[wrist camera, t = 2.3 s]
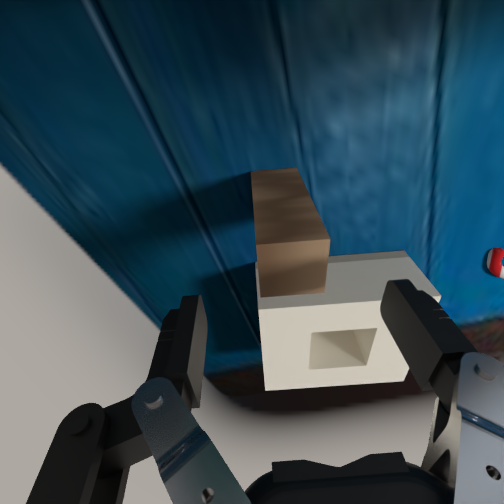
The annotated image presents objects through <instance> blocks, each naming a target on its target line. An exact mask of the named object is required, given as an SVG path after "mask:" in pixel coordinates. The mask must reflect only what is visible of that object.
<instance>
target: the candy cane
mask: <svg viewBox="0 0 504 504" xmlns="http://www.w3.org/2000/svg"><path fill="white" fill-rule="evenodd" d="M503 255H504V250H503V249H501V248H493V249H491V250H490V252H489V254H488V258H487V267H488V269H489V270H490V272H491V273H492V274H494V275H495V276H497V277H500V278H503V279H504V266H502V258H503Z"/></svg>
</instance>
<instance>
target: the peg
mask: <svg viewBox="0 0 504 504" xmlns="http://www.w3.org/2000/svg"><path fill="white" fill-rule="evenodd" d="M251 182H252V195H253V209H254V222H255V235H256V248H257V261H258V273H259V286H260V298H263V297H276V296H289V295H303V294H316V293H325V284H326V275H327V266H328V256H329V247H330V237H329V235H328V233H327V231H326V229H325V227H324V225H323V223H322V220H321V218H320V216H319V214H318V212H317V210H316V208H315V206H314V204H313V201H312V199H311V197H310V195H309V193H308V191H307V189H306V187H305V185H304V182H303V180H302V178H301V176H300V174H299V172H298V170H297V168H285V169H273V170H262V171H251Z"/></svg>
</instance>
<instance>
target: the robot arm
mask: <svg viewBox="0 0 504 504" xmlns="http://www.w3.org/2000/svg"><path fill="white" fill-rule="evenodd" d="M380 313H381V317H382V319H383V321H384V323H385V325H386V326H387V328H388V330H389V332H390V334H391V336H392V337H393V339H394V341H395V343H396V345H397V346H398V348H399V350H400V352H401V354H402V356H403V357H404V359H405V361H406V363H407V365H408V366H409V368H410V370H411V372H412V374H413V375H414V377H415V379H416V381H417V382H418V384H419V386H420V388H421V390H422V391H428V390H434V391H435V393H436V394H437V396H438V397H437V398H436V401H435V406H434V413H433V419H432V425H431V431H430V437H429V443H428V447H427V451H426V454H425V456H424V459H423V461H422V465H421V467H419V466H417V465H414V464H411V463H408V462H406V461H405V459H404V457H403V454H402V452H393V453H381V454H370V455H367V456H365V457H362V458H360V459H358V460H356V461H354V462H351V463H349V464H347V465H344V466H342V467H334V466H329V465H325V464H321V463H316V462H312V461H307V460H293V461H280V462H272V471H270V472H268V473H266V474H264V475H262V476H261V477H259V478H258V479H257V480H256V481H254V482H253V483H252V484H251V485H250V486H249V487H248V488H247V489H246V491H245V492H244V491H243V489H242V488H241V486H240V485H239V483H238V481H237V480H236V478H235V477H234V475H233V474H232V472H231V471H230V469H229V467H228V466H227V464H226V463H225V461H224V460H223V458H222V456H221V455H220V453H219V452H218V450H217V449H216V447H215V446H214V444H213V443H212V441H211V439H210V438H209V436H208V435H207V434H206V432H205V431H203V430H202V429H201V427H200V426H199V424H198V423H197V422H196V420H195V418H194V417H193V415H192V413H191V409H192V408H199V407H200V398H201V389H202V379H203V369H204V360H205V350H206V340H207V318H206V314H205V309H204V305H203V301H202V297H201V295H191V296H183V297H182V300H181V305H180V309H171V310H170V311H169V313H168V314H167V315H166V317H165V318H164V319H163V323H162V327H161V330H160V331H161V332H160V334H159V337H158V342H157V345H156V349H155V352H154V356H153V359H152V363H151V367H150V370H149V374H148V377H147V380H146V381H145V383H143V384H142V385H141V386H140V387H139V388H138V389H137V391H136V392H135V394H134V395H133V396H131V397H129V398H127V399H125V400H123V401H120V402H118V403H115V404H113V405H110V406H108V407H105V408H102V407H101V406H100V405H99V404H96V403H87V404H84V405H81V406H79V407H77V408H75V409H74V410H73V411H71V412H70V413H69V414H68V415H67V416H66V417H65V418H64V419H63V420H62V422H61V423H60V425H59V427H58V429H57V431H56V434H55V436H54V439H53V441H52V443H51V446H50V448H49V450H48V453H47V455H46V457H45V460H44V462H43V465H42V467H41V469H40V472H39V474H38V476H37V479H36V481H35V483H34V486H33V488H32V491H31V493H30V495H29V498H28V500H27V503H26V504H122V502H123V498H124V493H125V488H126V484H127V479H128V474H129V469H130V466H131V465H133V464H135V463H137V462H140V461H142V460H144V459H146V458H148V457H150V456H152V455H153V456H154V459H155V461H156V463H157V466H158V468H159V473H160V476H161V478H162V481H163V483H164V485H165V487H166V489H167V492H168V494H169V496H170V498H171V500H172V502H173V504H504V365H503V364H502V363H500V362H499V361H498V360H496V359H494V358H493V357H491V356H488V355H486V354H483V353H479V352H478V351H477V350H476V349H475V348H474V347H473V345H472V344H471V343H470V342H469V340H468V339H467V338H466V337H465V335H464V334H463V333H462V332H461V331H460V329H459V328H458V327H457V326H456V324H455V323H454V322H453V321H452V319H450V318H449V316H448V314H447V313H446V312H445V311H443V308H442V307H441V306H440V305H439V303H438V302H437V301H436V300H435V298H433V297H432V296H430V295H429V294H427V293H426V292H425V291H423V290H417V288H416V287H415V286H414V285H413V283H412V282H411V281H410V280H409V279H399V280H389V281H388V282H387V284H386V287H385V291H384V294H383V297H382V301H381V305H380Z"/></svg>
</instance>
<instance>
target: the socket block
mask: <svg viewBox="0 0 504 504" xmlns="http://www.w3.org/2000/svg"><path fill="white" fill-rule="evenodd" d="M255 267H256V282H257V297H258V312H259V323H260V334H261V346H262V357H263V368H264V380H265V391H267V390H282V389H296V388H310V387H324V386H339V385H354V384H368V383H382V382H397V381H404V378H405V376H406V374H407V372H408V370H409V366H408V365H407V363H406V361H405V359H404V357H403V356H402V354H401V352H400V350H399V348H398V346H397V345H396V343H395V341H394V339H393V337H392V336H391V334H390V332H389V330H388V328H387V326H386V325H385V323H384V321H383V319H382V317H381V313H380V305H381V301H382V297H383V294H384V291H385V287H386V284H387V282H388V281H389V280H399V279H409V280H410V281H411V282H412V283H413V285H414V286H415V287H416V288H417V290H423V291H425V292H426V293H427V294H429V295H430V296H432V297H433V298H435V300H436V301H437V302H438V303H439V300H440V298H441V295H440V294H439V292H438V291H437V290H436V289H435V288H434V286H433V285H432V284H431V283H430V281H429V280H428V279H427V278H426V277H425V275H424V274H423V273H422V272H421V270H420V269H419V268H418V267H417V266H416V264H415V263H414V262H413V261H412V259H411V258H410V257H409V256H408V255H407V253H406V252H405V251H392V252H379V253H366V254H353V255H340V256H328V266H327V275H326V284H325V293H316V294H303V295H289V296H276V297H263V298H260V286H259V273H258V262H255Z"/></svg>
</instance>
